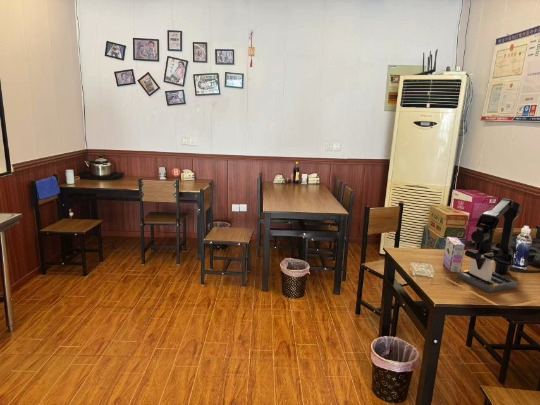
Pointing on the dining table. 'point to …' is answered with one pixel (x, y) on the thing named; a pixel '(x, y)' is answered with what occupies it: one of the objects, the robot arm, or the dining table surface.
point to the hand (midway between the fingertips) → (481, 269)
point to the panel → (482, 269)
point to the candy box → (453, 254)
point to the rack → (488, 282)
